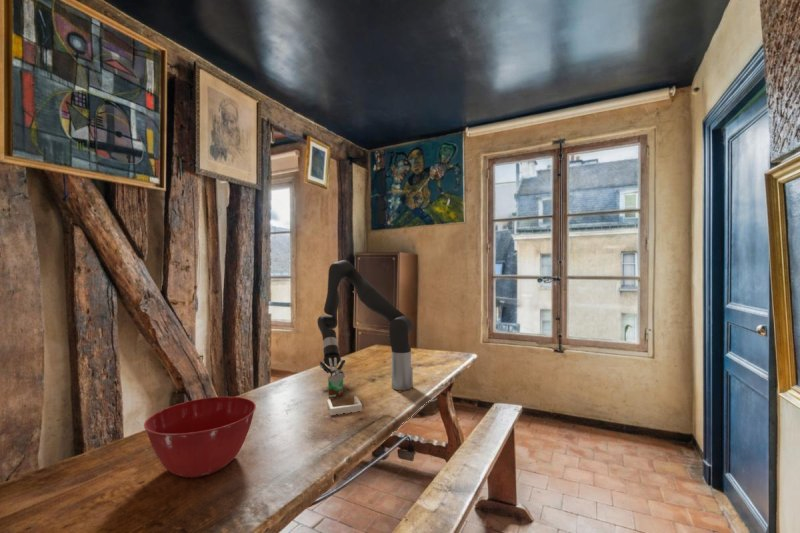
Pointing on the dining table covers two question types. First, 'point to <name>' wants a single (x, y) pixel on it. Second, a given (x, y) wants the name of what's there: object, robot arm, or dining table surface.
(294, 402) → the dining table surface
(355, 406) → the bay
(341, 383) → the food container
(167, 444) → the mixing bowl
